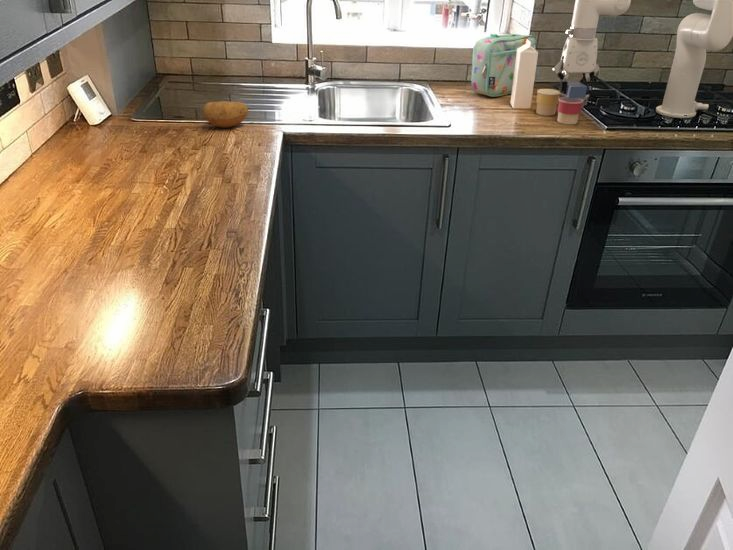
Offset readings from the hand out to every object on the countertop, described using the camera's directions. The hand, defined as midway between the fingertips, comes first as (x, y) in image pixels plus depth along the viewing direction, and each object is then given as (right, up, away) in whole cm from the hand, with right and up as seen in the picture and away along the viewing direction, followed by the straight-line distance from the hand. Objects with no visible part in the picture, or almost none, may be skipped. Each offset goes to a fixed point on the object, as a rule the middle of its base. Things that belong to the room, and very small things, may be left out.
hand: (572, 92), depth 195 cm
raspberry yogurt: (0, -8, +5) cm, 9 cm away
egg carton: (+7, +2, +22) cm, 24 cm away
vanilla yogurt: (-5, -3, +13) cm, 14 cm away
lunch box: (-15, +11, +36) cm, 40 cm away
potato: (-110, -11, -1) cm, 111 cm away
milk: (-12, +1, +20) cm, 23 cm away
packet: (0, -1, 0) cm, 1 cm away
